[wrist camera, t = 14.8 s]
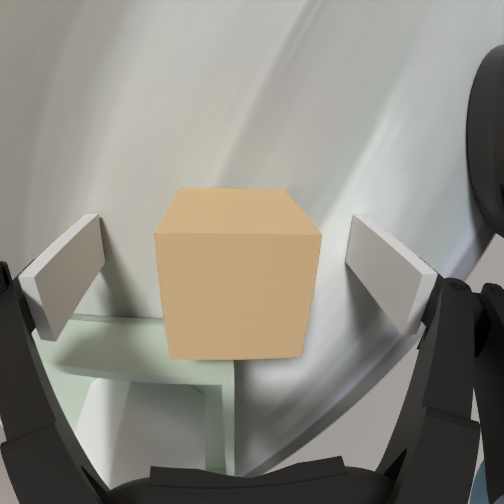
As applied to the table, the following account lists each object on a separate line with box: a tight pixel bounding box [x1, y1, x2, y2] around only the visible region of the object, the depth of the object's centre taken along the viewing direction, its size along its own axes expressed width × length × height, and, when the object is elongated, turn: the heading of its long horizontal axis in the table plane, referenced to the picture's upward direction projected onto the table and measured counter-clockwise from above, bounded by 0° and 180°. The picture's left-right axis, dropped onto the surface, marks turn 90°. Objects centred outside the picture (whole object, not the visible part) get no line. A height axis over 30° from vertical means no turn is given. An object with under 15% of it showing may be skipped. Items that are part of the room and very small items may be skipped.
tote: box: [0, 314, 235, 476], centre depth 18 cm, size 20×20×4 cm
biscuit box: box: [155, 188, 322, 360], centre depth 13 cm, size 5×5×6 cm
